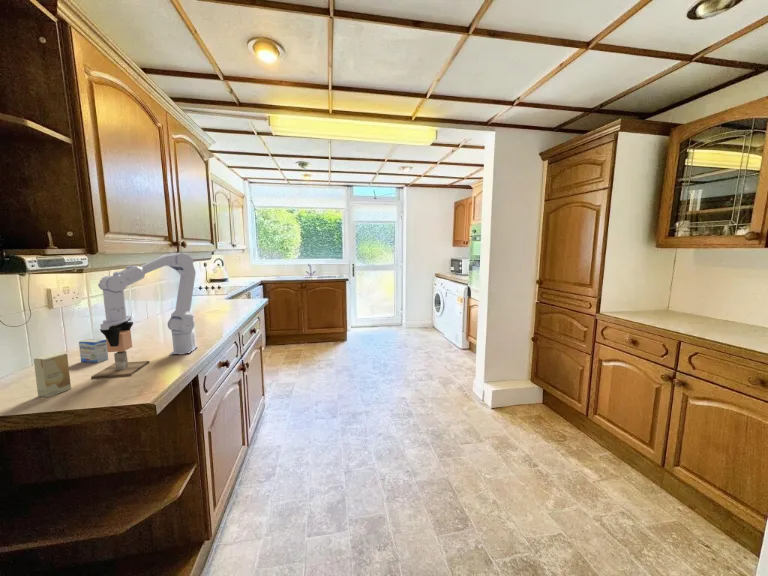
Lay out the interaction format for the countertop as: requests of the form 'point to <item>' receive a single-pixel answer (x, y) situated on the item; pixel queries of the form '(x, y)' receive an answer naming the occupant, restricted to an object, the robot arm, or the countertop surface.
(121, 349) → the square cap
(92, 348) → the medicine box
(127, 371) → the post board
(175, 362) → the countertop surface
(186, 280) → the robot arm
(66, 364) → the skincare box
